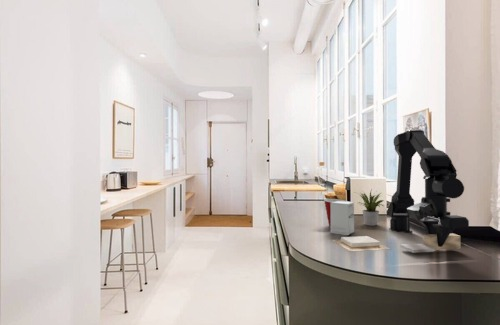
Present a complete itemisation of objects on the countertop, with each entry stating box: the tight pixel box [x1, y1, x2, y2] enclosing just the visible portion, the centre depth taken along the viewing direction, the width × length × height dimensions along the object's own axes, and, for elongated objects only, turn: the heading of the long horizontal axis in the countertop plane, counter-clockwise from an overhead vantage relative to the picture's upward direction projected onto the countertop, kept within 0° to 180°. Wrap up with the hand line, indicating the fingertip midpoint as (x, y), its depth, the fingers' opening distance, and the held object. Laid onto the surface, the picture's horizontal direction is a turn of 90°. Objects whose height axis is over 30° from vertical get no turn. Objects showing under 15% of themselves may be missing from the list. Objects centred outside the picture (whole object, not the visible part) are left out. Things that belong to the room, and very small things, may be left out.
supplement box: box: [330, 201, 355, 236], centre depth 122 cm, size 7×7×13 cm
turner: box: [399, 232, 462, 254], centre depth 94 cm, size 17×6×4 cm, turn 97°
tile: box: [340, 235, 381, 248], centre depth 104 cm, size 2×8×10 cm
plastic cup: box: [323, 198, 349, 228], centre depth 135 cm, size 11×11×12 cm
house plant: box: [354, 188, 385, 227], centre depth 139 cm, size 14×14×16 cm
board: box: [332, 239, 391, 252], centre depth 104 cm, size 14×14×1 cm
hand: (436, 245), depth 94 cm, fingers closed on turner, 3 cm apart
